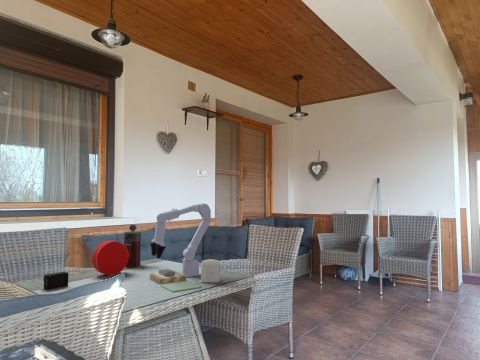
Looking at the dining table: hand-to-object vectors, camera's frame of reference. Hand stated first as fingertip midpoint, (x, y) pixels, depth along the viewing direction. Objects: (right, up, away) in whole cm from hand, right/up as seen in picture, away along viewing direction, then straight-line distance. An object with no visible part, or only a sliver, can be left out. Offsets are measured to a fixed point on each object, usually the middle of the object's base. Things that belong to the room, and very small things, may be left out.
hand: (156, 256), depth 201 cm
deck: (+8, -11, -8) cm, 16 cm away
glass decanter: (-24, -14, +31) cm, 42 cm away
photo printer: (+33, -12, -11) cm, 37 cm away
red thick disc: (-29, -12, +6) cm, 32 cm away
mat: (+18, -11, -22) cm, 30 cm away
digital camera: (-46, -10, -24) cm, 53 cm away
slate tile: (+8, -9, -7) cm, 13 cm away
